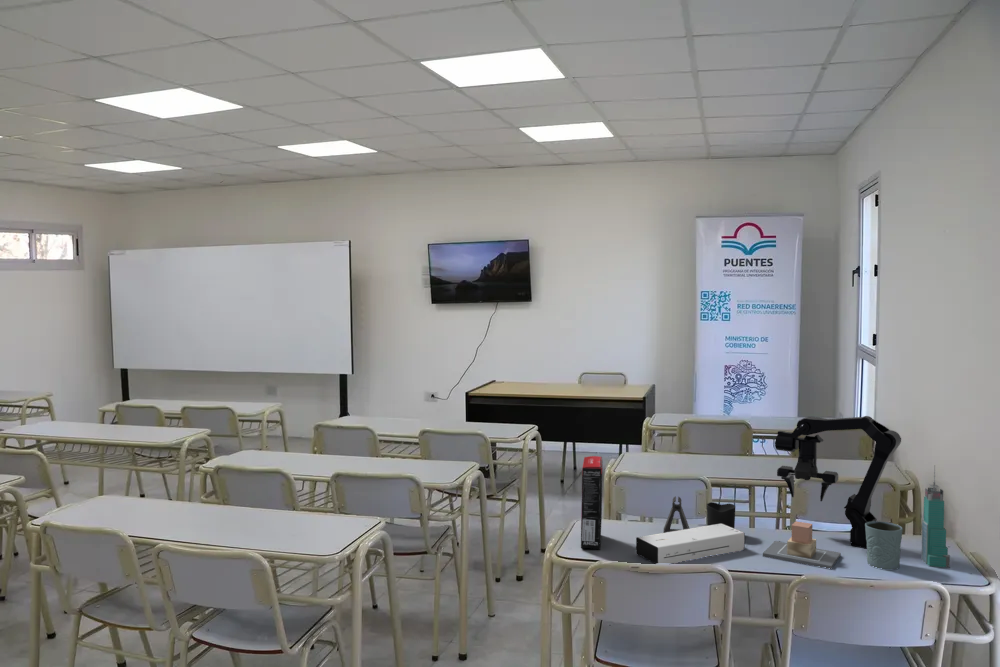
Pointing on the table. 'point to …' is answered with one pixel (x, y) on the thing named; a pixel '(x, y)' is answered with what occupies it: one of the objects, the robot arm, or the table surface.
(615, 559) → the table surface
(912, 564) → the table surface
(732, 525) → the pen holder
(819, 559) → the grey flat plate
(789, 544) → the oak base block
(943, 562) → the building
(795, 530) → the terracotta block
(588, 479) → the graphics card box
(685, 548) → the laminator
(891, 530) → the green embossed cup
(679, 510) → the pliers
